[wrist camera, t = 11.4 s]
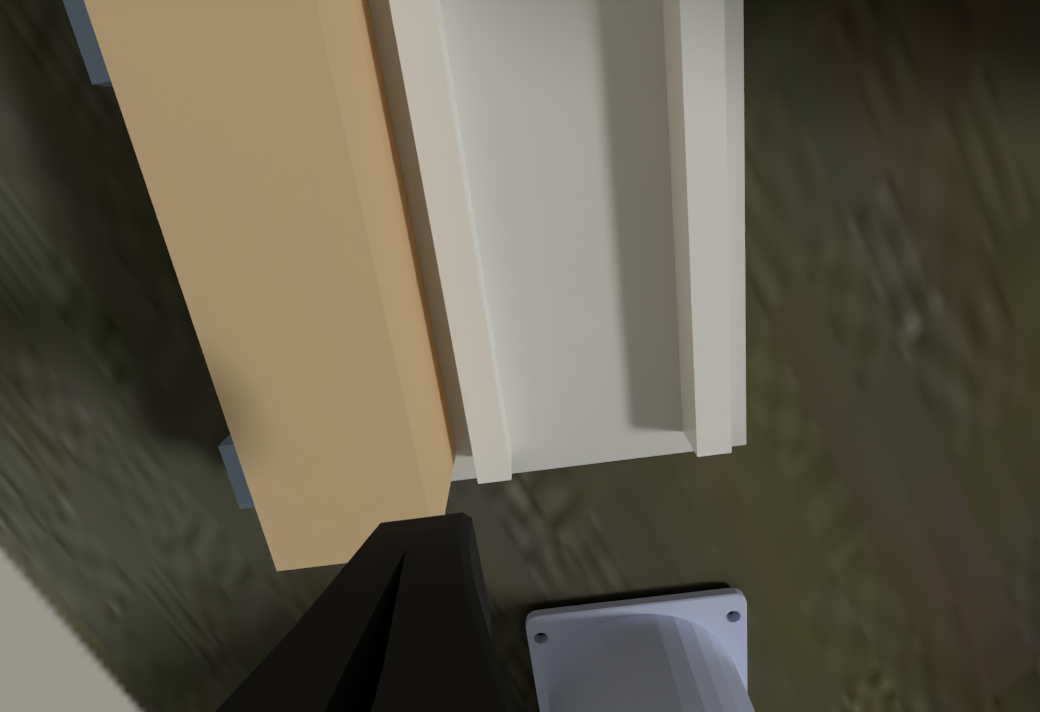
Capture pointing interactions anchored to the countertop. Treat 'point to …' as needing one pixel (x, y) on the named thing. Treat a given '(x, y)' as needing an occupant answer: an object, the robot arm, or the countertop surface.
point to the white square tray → (568, 221)
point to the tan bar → (291, 255)
